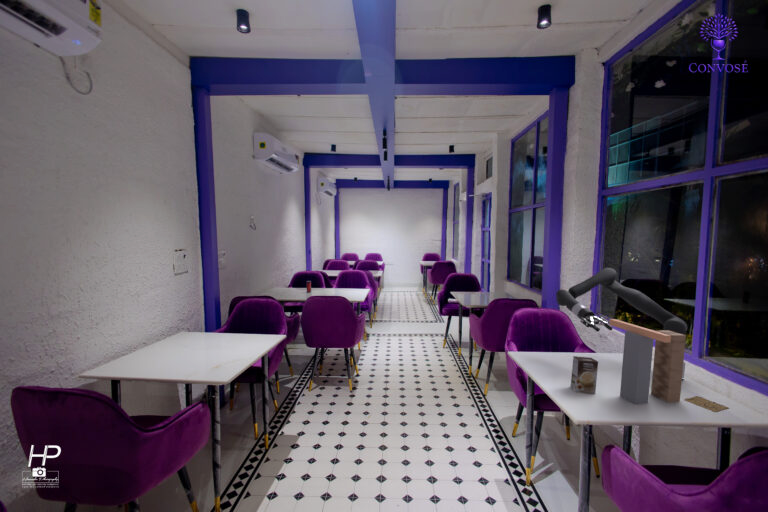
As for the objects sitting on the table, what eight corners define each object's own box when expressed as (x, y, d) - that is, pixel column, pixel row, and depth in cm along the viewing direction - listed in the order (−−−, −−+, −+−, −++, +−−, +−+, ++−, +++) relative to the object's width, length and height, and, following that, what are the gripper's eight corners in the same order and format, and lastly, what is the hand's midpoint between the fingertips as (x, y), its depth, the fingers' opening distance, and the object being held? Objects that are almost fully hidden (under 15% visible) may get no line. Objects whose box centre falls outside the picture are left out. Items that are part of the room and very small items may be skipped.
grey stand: (619, 395, 159) (625, 331, 157) (632, 395, 160) (637, 330, 158) (635, 404, 151) (641, 336, 149) (647, 403, 152) (653, 335, 150)
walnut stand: (650, 394, 162) (656, 330, 160) (662, 393, 163) (668, 330, 161) (667, 402, 154) (673, 335, 152) (679, 401, 155) (685, 335, 154)
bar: (609, 324, 168) (609, 319, 168) (614, 324, 169) (614, 319, 168) (664, 342, 141) (665, 335, 140) (670, 342, 141) (671, 335, 141)
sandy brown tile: (682, 400, 157) (682, 398, 157) (697, 396, 162) (697, 395, 162) (715, 413, 146) (715, 411, 146) (729, 409, 151) (730, 407, 150)
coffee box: (576, 392, 161) (578, 360, 160) (570, 386, 167) (572, 355, 166) (596, 394, 160) (598, 361, 159) (589, 388, 166) (591, 357, 165)
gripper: (590, 317, 194) (613, 334, 180) (570, 318, 191) (592, 336, 176) (594, 306, 191) (618, 323, 177) (574, 307, 188) (597, 324, 173)
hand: (605, 329), depth 177 cm, fingers open, 8 cm apart
